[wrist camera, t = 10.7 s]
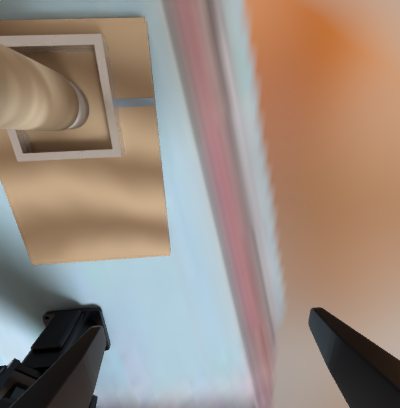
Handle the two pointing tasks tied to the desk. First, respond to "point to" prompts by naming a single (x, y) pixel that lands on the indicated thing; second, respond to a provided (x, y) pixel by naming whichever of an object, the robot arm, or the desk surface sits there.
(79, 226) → the subfloor panel
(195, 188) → the desk surface
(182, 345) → the desk surface
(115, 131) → the collar
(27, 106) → the beige rounded cylinder
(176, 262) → the desk surface
